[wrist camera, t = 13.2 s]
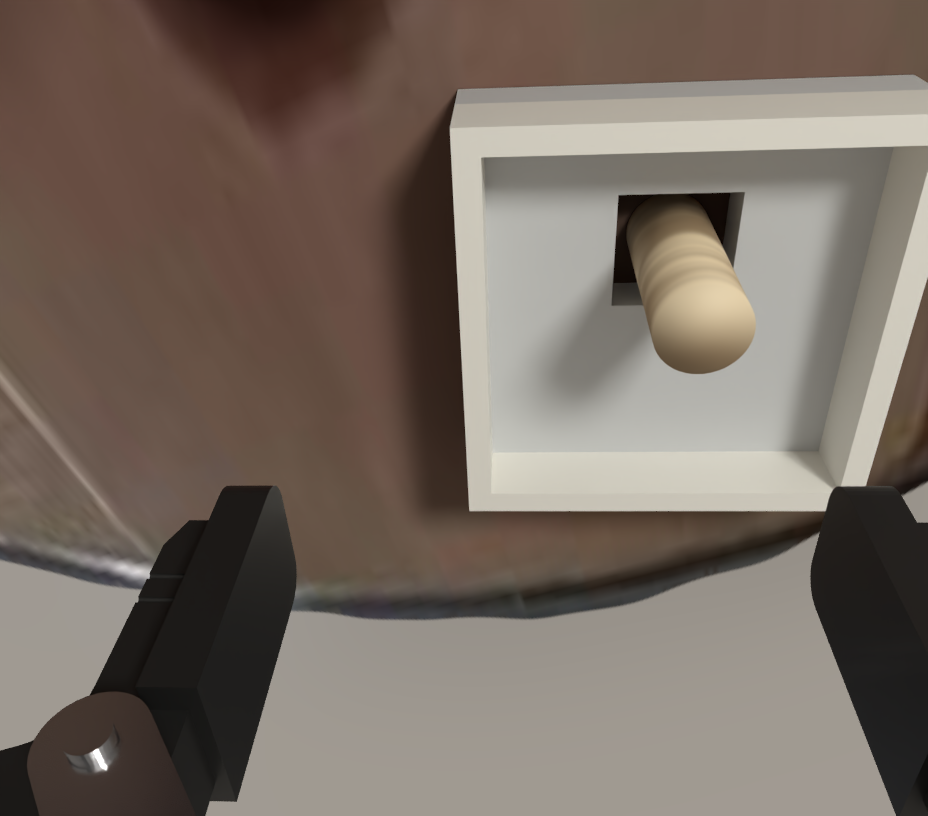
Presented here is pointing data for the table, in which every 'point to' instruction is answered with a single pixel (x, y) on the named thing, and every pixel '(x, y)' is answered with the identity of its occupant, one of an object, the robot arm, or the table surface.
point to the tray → (620, 305)
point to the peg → (688, 286)
